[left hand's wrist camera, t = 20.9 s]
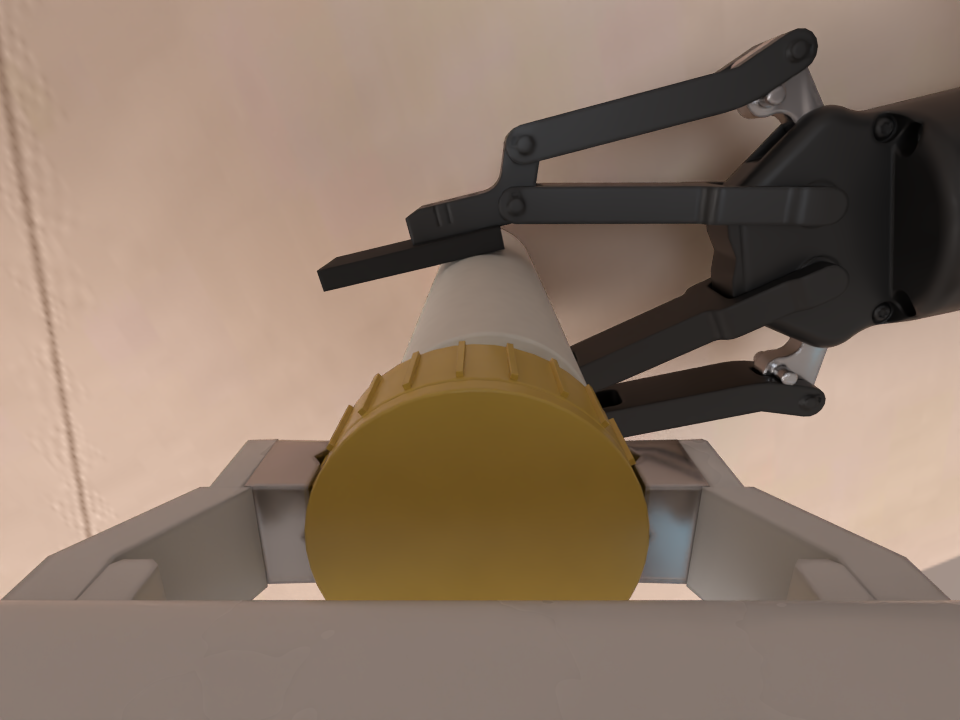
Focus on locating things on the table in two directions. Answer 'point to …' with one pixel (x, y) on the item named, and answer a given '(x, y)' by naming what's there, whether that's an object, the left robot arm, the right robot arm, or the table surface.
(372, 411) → the lid
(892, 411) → the table surface
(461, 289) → the grey cylinder
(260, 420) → the table surface
